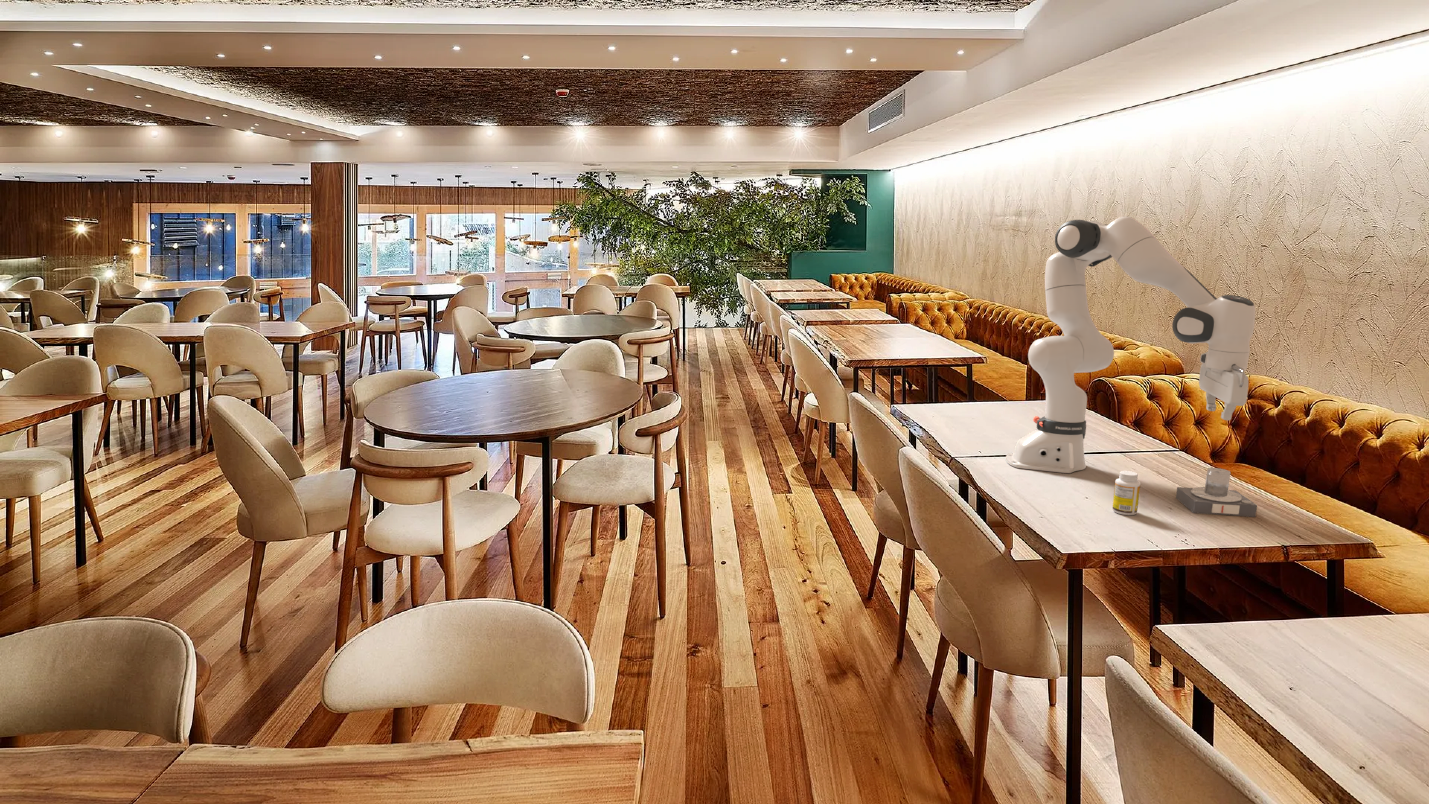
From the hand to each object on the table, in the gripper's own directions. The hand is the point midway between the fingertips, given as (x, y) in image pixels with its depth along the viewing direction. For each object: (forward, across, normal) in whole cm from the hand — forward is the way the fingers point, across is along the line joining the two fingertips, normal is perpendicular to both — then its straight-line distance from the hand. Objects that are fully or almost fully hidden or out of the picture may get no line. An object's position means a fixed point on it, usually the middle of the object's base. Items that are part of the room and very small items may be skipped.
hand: (1218, 414), depth 206 cm
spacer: (+20, -4, -1) cm, 20 cm away
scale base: (+23, -5, -1) cm, 23 cm away
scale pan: (+20, -5, -1) cm, 21 cm away
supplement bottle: (+23, -14, +23) cm, 36 cm away
